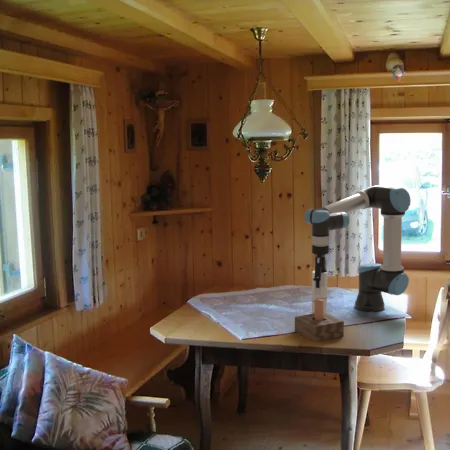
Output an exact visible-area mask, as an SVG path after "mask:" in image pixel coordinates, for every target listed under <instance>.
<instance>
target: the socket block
mask: <svg viewBox="0 0 450 450" xmlns="http://www.w3.org/2000/svg"><path fill="white" fill-rule="evenodd" d="M344 328H345V321H344V320H342V319H340V318H337V317H335V316H333V315H332V314H328V312H327V313H324V318H323V321H318V322H317V321H315V313H314V314H312V313H309V314H304V315H297V316H294V332H295V333H297V334H299V335H300V336H303V337H305V338H307V339H308V340H310V341H312V342H320V341H324V340H325V341H326V340H330V339H335V338H339V337H344Z"/></svg>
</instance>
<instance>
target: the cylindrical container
mask: <svg viewBox="0 0 450 450" xmlns="http://www.w3.org/2000/svg"><path fill="white" fill-rule="evenodd" d="M311 272H312V273H311V275H312V277H311V278H312V279H311V281H312V283H311V314H314V313H315V299H323V300H324V313H327V314H328V312H327V311H328V309H327V307H328V271H327V272H324V273H325V287H321V295H315V281H313V279H314V277H315V270H313V271H311ZM317 278H319V277H317Z"/></svg>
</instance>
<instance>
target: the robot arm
mask: <svg viewBox="0 0 450 450" xmlns="http://www.w3.org/2000/svg"><path fill="white" fill-rule="evenodd" d="M410 207H411V195H410V194H409V192H408V190H407V189H406V188H404V187H399V186H396V185H395V186H393V185H381V184H378V185H377V184H376V185H372V186H369V187H366V188H363V189H360V190H358V191H356V192H355V194H353V195H351V196H348V197H345V198H342V199H340V200H337V201H334V202H332V203H330V204H327V205H325V206H322V207H319V208H317V209H315V208H309V209H307V210H306V211H305V213H304V222H305V223H306V224H308V225H311V236H312V237H310V239H311V240H312V241H311V244H312V245H311V253H312V254H313V255H316V256H315V259H314V261H315V264H314V271H315V277H314V279H313V281H315V295H321V287H325V273H324V272H327V273H328V271H327V270H326V269H327V268H326V255H328V254H329V251H330V246H329V244H330V231H335V230H342V229H344V228H347V227H348V226H349V224H350V216H349V215H348V214H351V213H353V212H356V211H359V210H366V209H371V208H372V209H380V215H381V217H383V238H382V239H383V246H382V247H383V248H382V249H383V252H382V263H383V264H381V263H377V262H376V263H365V264H361V265H360V266H359V270H358V293H357V295H356V299H355V301H354V308H355V309H357V310H360V311H363V312H379V311H383V310H384V309H385V302H384V298H383V295H382V294H383V293H384V294H389V295H391V296H393V295H394V296H400V295H402V294H404V292H406V290H407V288H408V286H409V282H410V280H409V279H410V278H409V276H408V274H407V273H405V267H404V266H403V265H402V223H403V222H402V221H403V219H402V218H403V217H404V216H405V215H406V211H408V210H409V208H410ZM317 277H319V278H317Z"/></svg>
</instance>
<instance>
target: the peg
mask: <svg viewBox="0 0 450 450" xmlns="http://www.w3.org/2000/svg"><path fill="white" fill-rule="evenodd" d="M323 318H324V300H323V299H315V321H317V322H318V321H323Z"/></svg>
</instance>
